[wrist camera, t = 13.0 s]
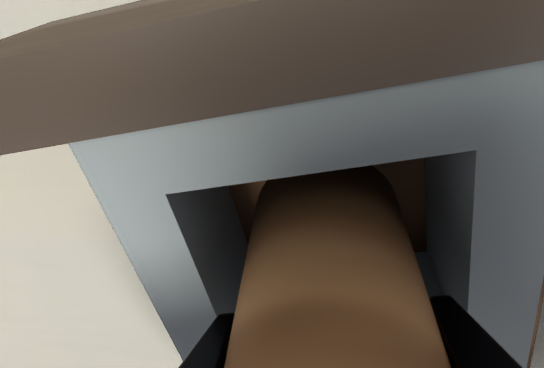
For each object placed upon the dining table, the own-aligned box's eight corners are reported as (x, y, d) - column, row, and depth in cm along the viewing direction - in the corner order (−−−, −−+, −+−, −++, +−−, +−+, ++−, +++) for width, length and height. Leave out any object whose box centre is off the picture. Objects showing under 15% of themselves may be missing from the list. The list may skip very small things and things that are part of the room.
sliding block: (471, 278, 14) (522, 388, 11) (227, 300, 16) (204, 401, 12) (488, 7, 10) (585, 49, 6) (140, 77, 11) (66, 140, 8)
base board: (515, 369, 18) (594, 538, 13) (222, 383, 21) (193, 530, 16) (592, -108, 9) (949, -157, 4) (51, 21, 12) (-149, 91, 7)
